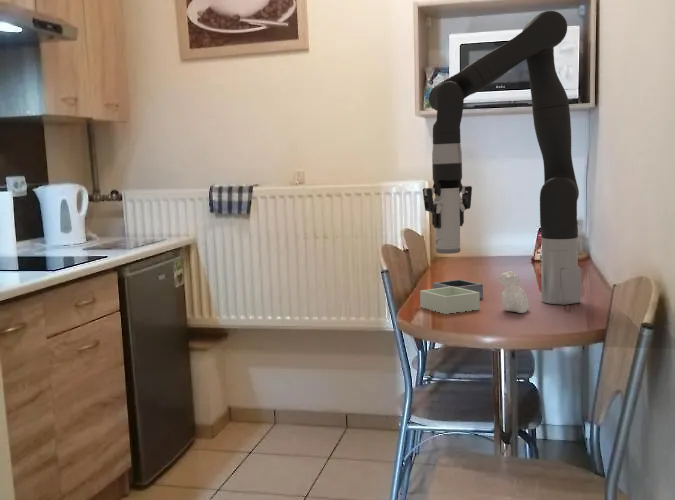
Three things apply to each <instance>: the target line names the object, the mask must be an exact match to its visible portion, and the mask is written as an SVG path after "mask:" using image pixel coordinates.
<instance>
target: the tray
mask: <svg viewBox="0 0 675 500" xmlns="http://www.w3.org/2000/svg"><path fill="white" fill-rule="evenodd" d="M419 295H420V296H419V297H420V299H419V300H420V301H419V302H420V303H419V304H420V308H421V307H422V309H425V308H426V309H425V310H428V309H429V310H428V311H431V312H435V311H436V312H435V313H438V312H440V313H439V314H442V313H444V314H443V315H445V314H447V315H450V314H449V313H454V314H457V313H456V312H460V313H465V311H467V312H472V310H474V311H479V310H480V308H481V306H480V304H481V303H480V301H481V299H480V295H479V292H475V291H471V290H467V289H463V288H458V287H454V286H451V287H444V288H436V289H433V288H431V289H430V288H429V289H422V290H421V289H420V292H419Z"/></svg>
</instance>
